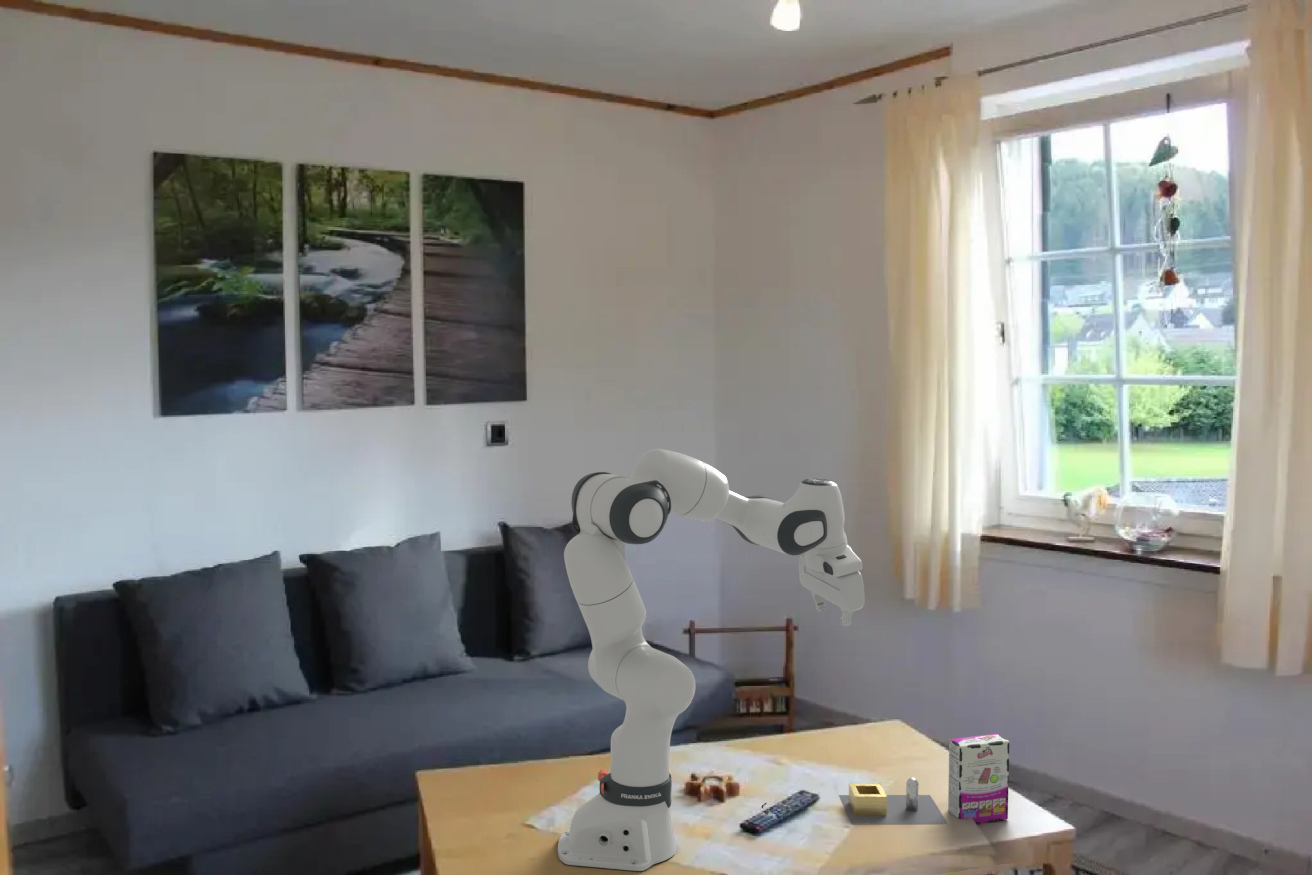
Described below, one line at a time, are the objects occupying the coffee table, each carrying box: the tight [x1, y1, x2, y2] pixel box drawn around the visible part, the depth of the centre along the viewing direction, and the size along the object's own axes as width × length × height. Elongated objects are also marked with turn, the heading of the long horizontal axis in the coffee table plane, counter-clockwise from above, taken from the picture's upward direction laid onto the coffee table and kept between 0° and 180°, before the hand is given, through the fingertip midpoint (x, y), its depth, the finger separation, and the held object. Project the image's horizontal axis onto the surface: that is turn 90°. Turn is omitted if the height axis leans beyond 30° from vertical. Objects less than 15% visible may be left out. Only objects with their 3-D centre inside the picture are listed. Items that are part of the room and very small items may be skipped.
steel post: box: [905, 777, 920, 812], centre depth 232 cm, size 2×2×6 cm
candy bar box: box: [947, 733, 1010, 825], centre depth 231 cm, size 11×5×16 cm, turn 105°
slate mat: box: [838, 794, 949, 825], centre depth 232 cm, size 19×14×2 cm
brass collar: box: [848, 783, 888, 816], centre depth 232 cm, size 6×6×4 cm
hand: (833, 618), depth 237 cm, fingers open, 8 cm apart
